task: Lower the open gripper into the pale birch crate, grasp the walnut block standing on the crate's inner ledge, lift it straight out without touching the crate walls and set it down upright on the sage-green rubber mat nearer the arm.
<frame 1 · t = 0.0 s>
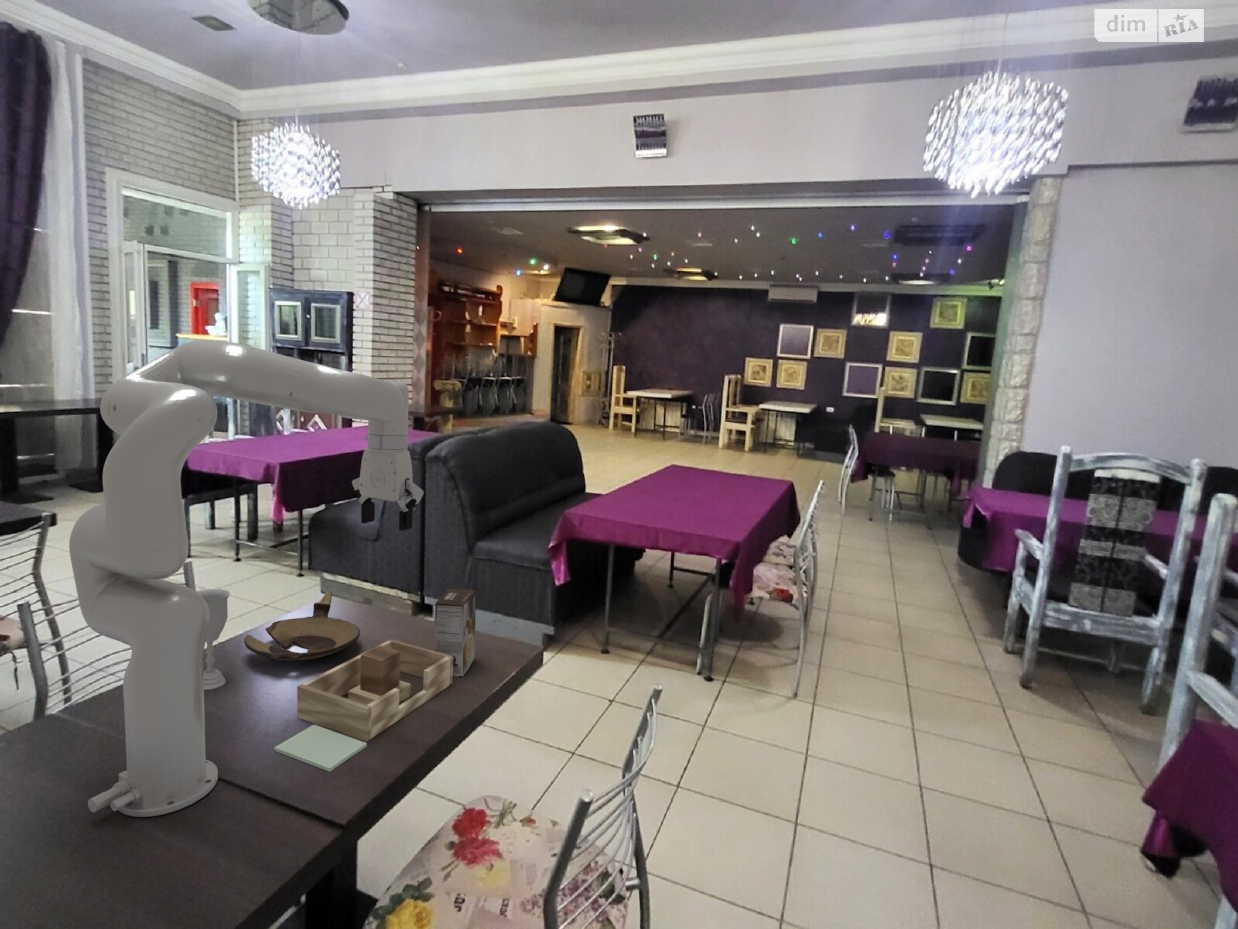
hand: (386, 525, 134), 31 cm above the table, fingers open, 9 cm apart
chalice: (210, 684, 128), on the table
crate: (379, 699, 126), on the table
broken brown bowl: (313, 650, 145), on the table
block: (380, 687, 126), point 2 cm above the table, touching crate
coffee box: (455, 667, 141), on the table
mat: (321, 748, 109), on the table
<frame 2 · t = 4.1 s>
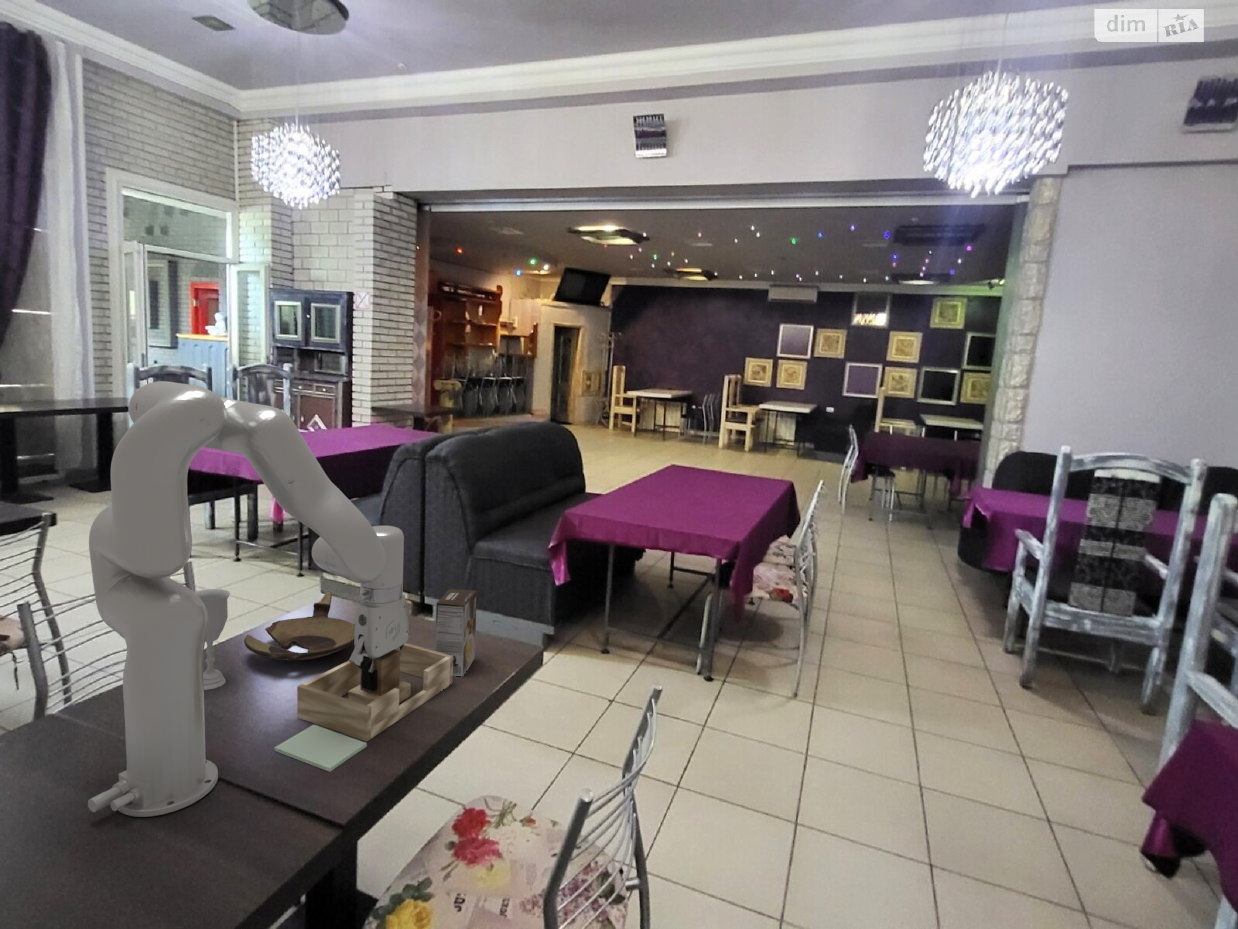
hand: (380, 681, 125), 4 cm above the table, fingers closed on block, 5 cm apart
block: (380, 687, 126), point 3 cm above the table, touching crate, gripper
everything else where it was.
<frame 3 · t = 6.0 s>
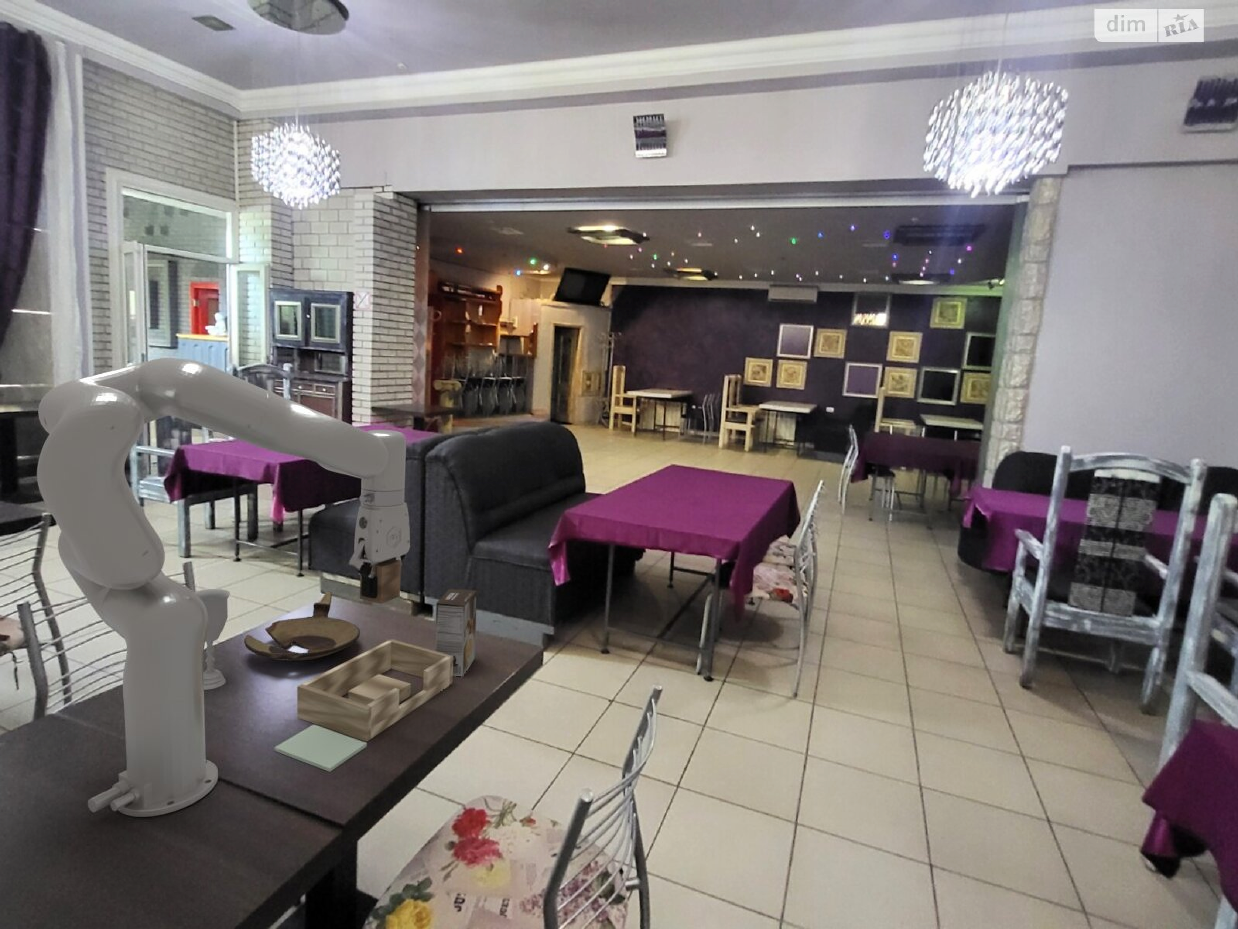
hand: (380, 591, 123), 22 cm above the table, fingers closed on block, 5 cm apart
block: (380, 597, 123), point 21 cm above the table, touching gripper
everything else where it was.
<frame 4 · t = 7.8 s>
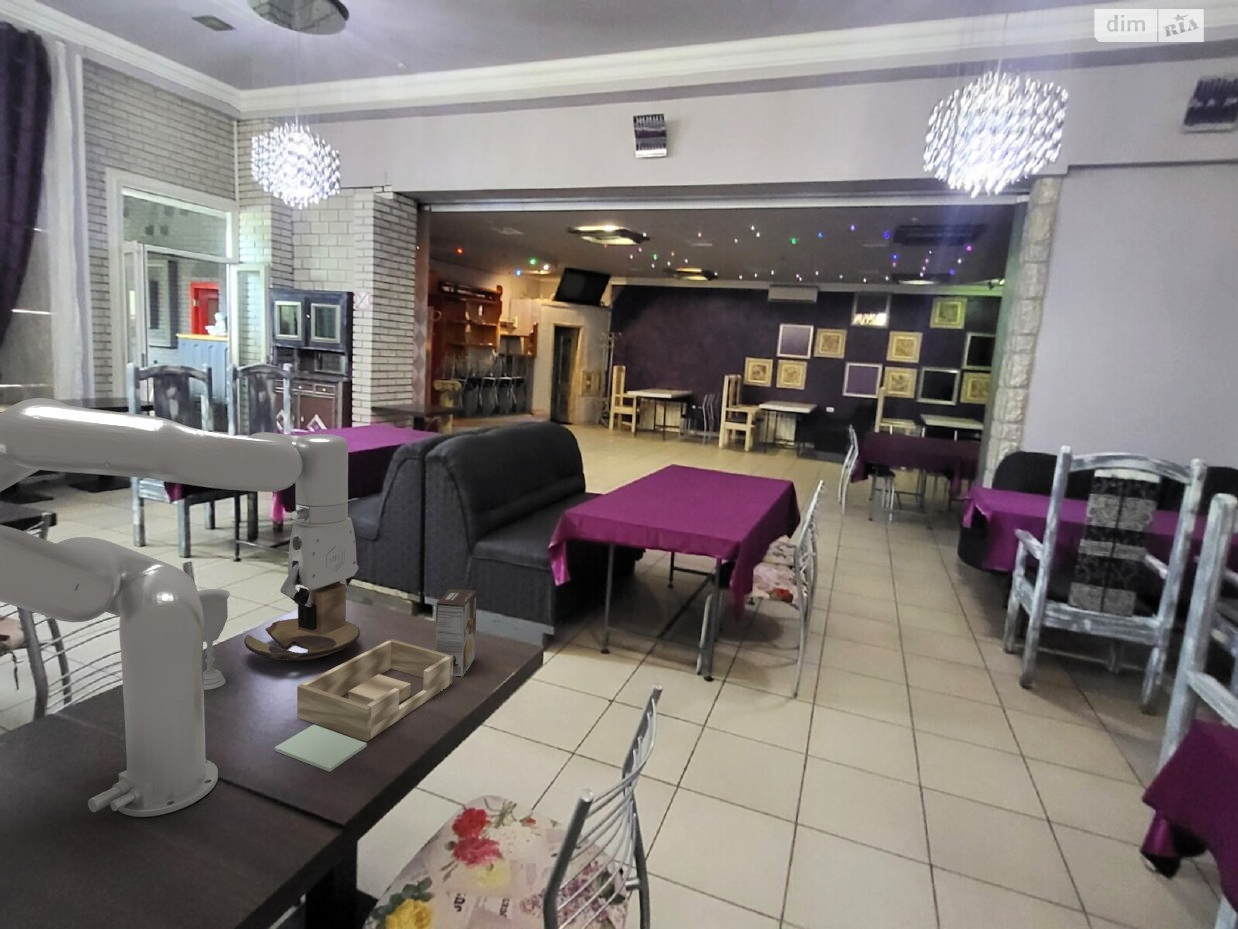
hand: (321, 621, 106), 22 cm above the table, fingers closed on block, 5 cm apart
block: (322, 627, 106), point 21 cm above the table, touching gripper
everything else where it was.
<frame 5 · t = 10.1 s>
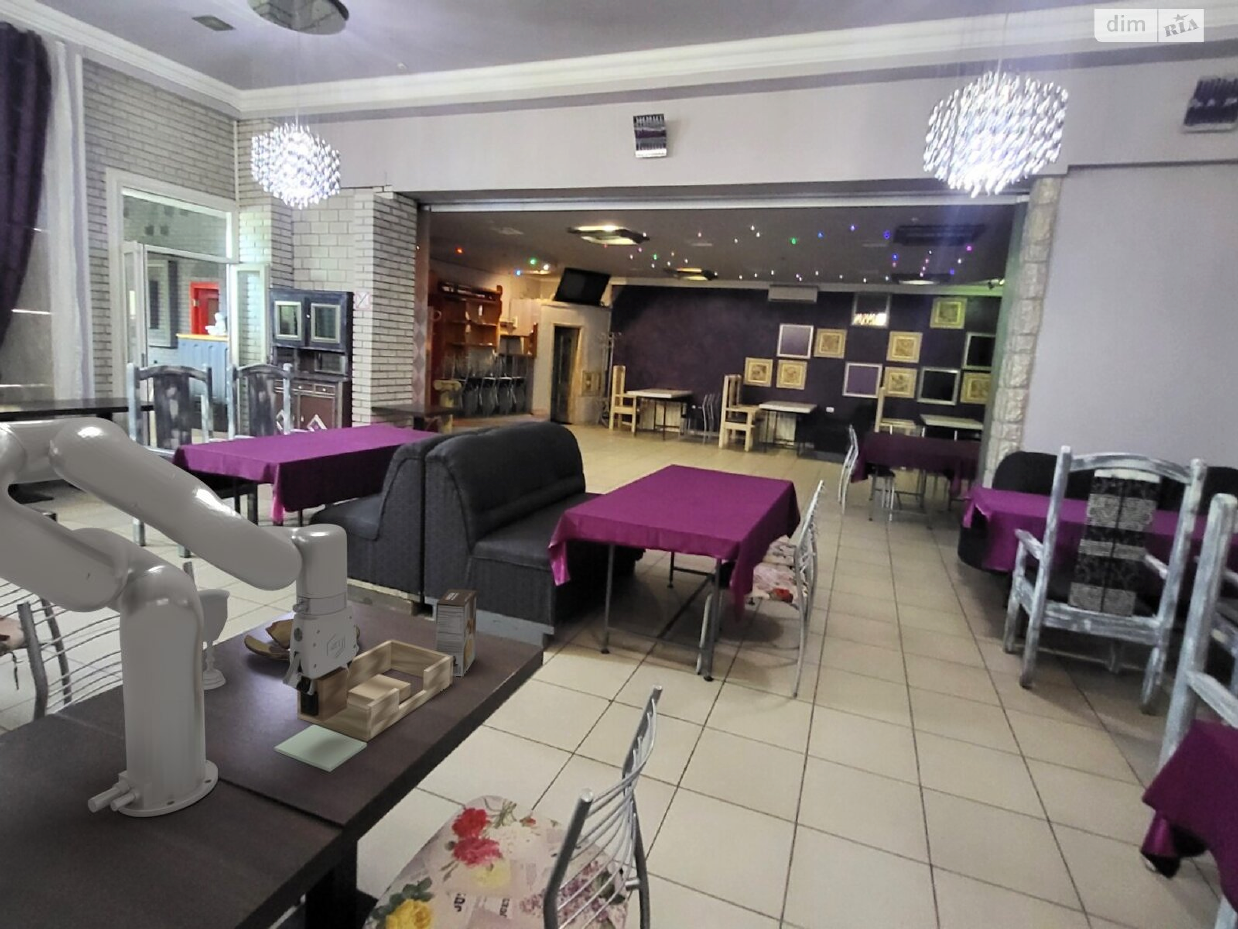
hand: (323, 704, 108), 8 cm above the table, fingers closed on block, 5 cm apart
block: (324, 710, 108), point 7 cm above the table, touching gripper
everything else where it was.
when the fingers open (3 cm above the table, at t = 12.0 s): block drops 1 cm, resting on mat.
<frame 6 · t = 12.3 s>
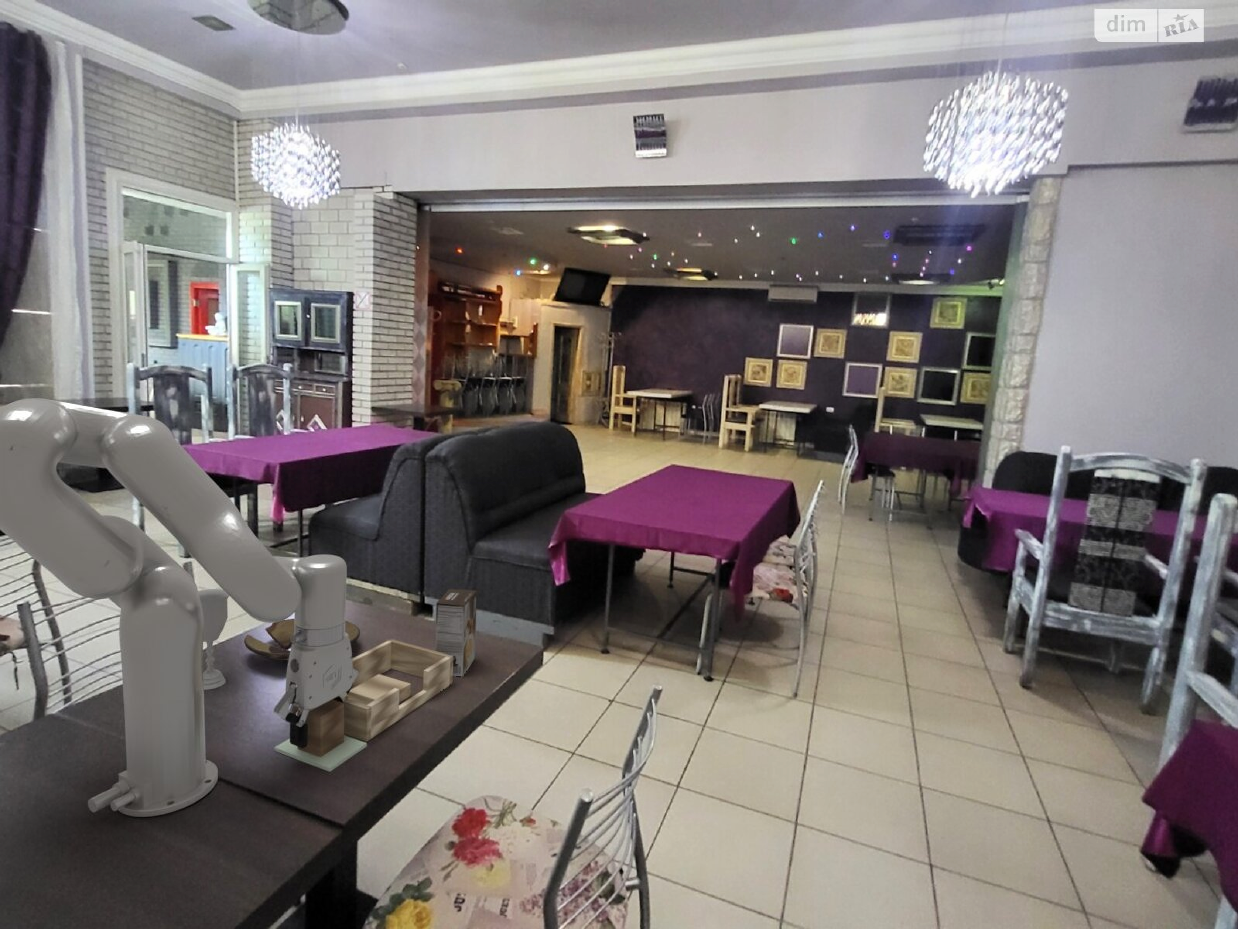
hand: (317, 733, 108), 3 cm above the table, fingers open, 7 cm apart
block: (321, 745, 109), point 1 cm above the table, touching mat
everything else where it was.
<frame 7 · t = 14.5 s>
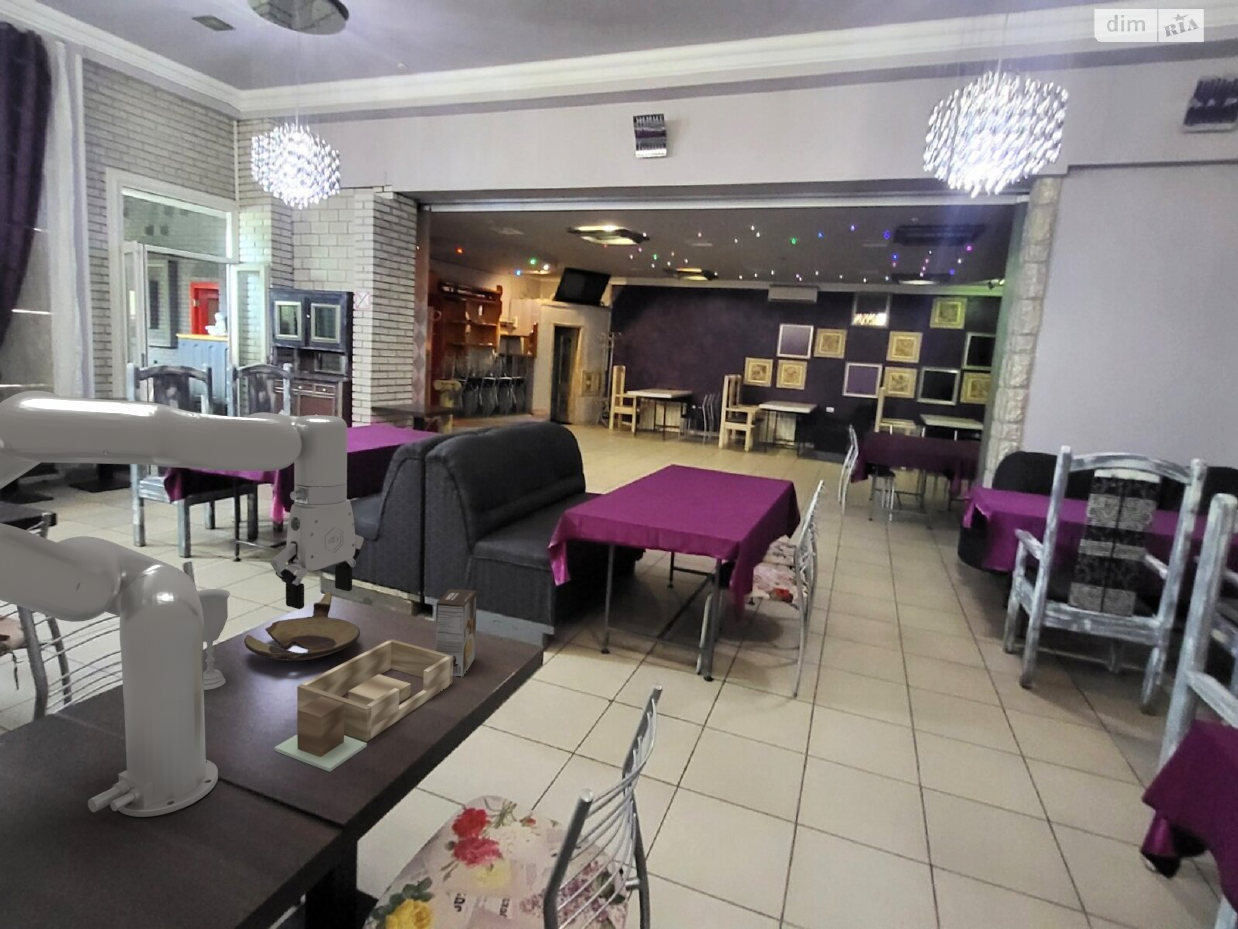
hand: (320, 597, 105), 26 cm above the table, fingers open, 9 cm apart
nothing on the table moved.
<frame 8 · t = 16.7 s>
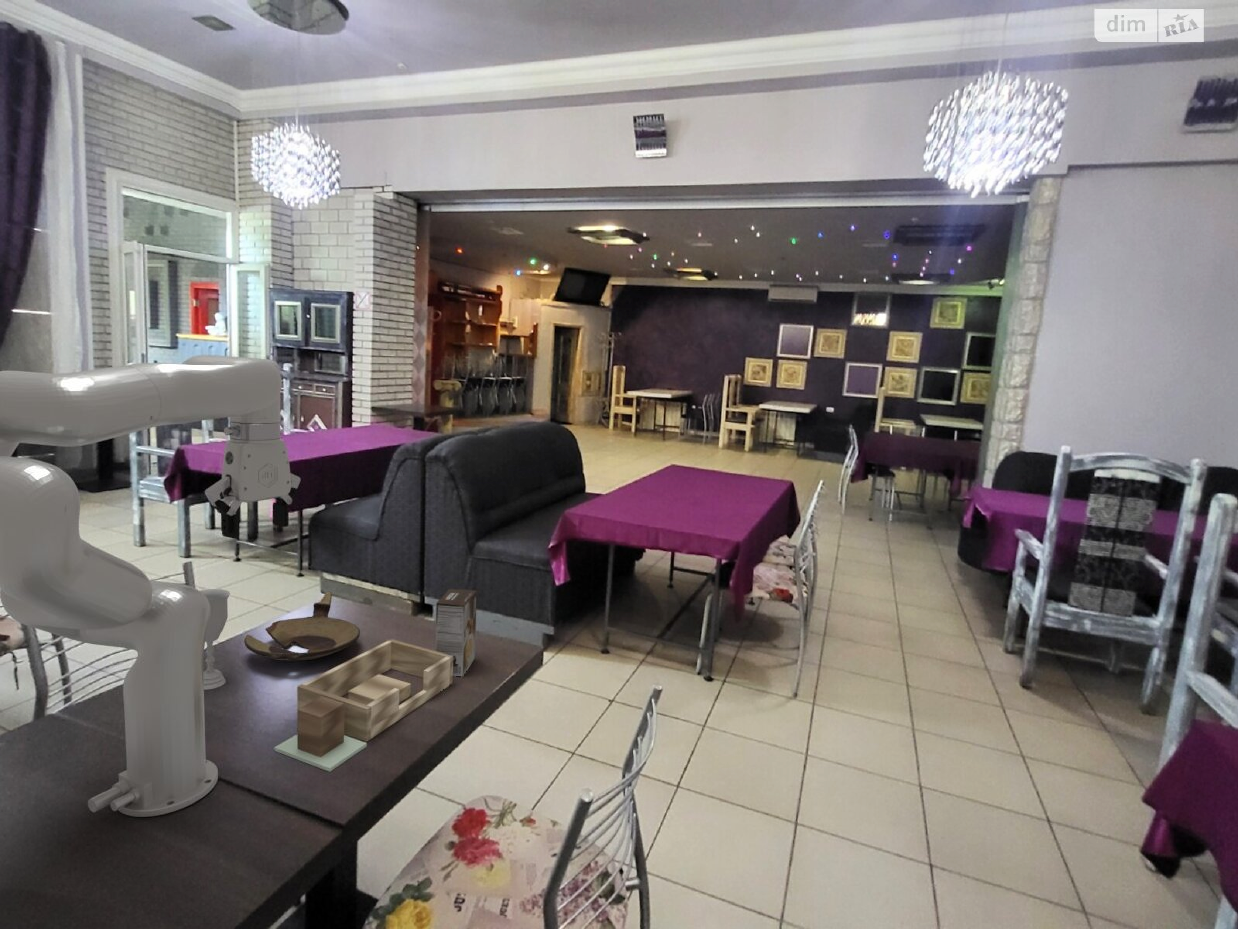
hand: (256, 531, 112), 34 cm above the table, fingers open, 9 cm apart
nothing on the table moved.
at the end: block inside the target area on the mat (0.1 cm from its centre), point 0.6 cm above the mat's base; block tilted 0°; block touching mat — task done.
